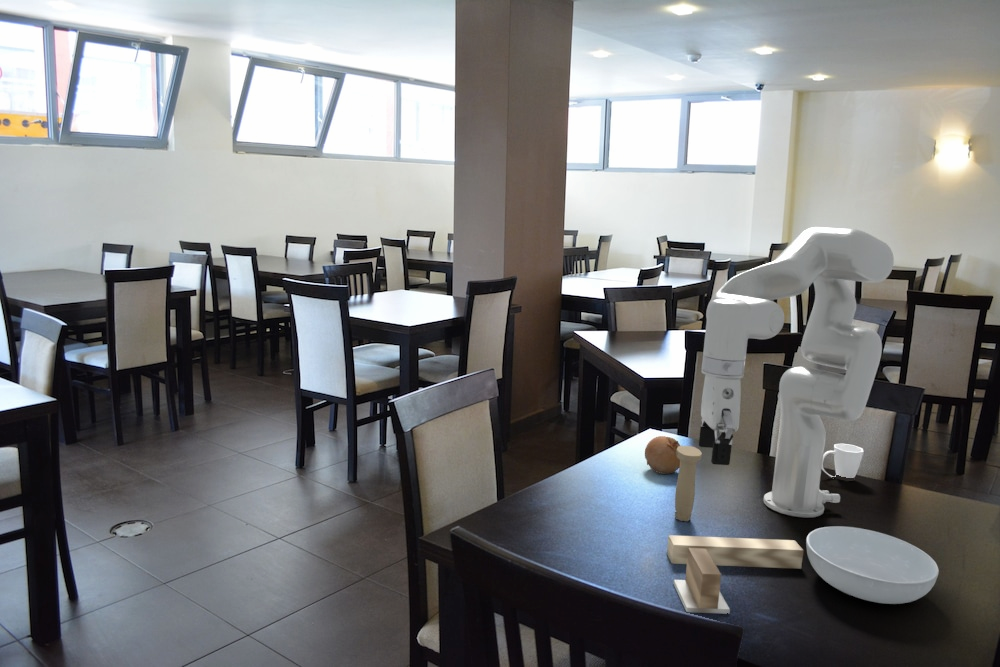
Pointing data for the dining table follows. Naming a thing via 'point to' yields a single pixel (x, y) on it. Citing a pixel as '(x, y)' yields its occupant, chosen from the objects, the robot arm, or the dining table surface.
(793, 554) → the beam
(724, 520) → the dining table surface
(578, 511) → the dining table surface
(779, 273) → the robot arm
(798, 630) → the dining table surface
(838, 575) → the serving bowl
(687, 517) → the handle
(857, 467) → the cup
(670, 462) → the onion
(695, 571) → the wooden block on base
